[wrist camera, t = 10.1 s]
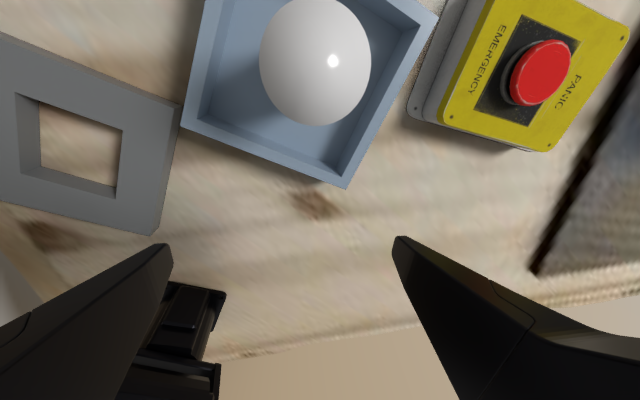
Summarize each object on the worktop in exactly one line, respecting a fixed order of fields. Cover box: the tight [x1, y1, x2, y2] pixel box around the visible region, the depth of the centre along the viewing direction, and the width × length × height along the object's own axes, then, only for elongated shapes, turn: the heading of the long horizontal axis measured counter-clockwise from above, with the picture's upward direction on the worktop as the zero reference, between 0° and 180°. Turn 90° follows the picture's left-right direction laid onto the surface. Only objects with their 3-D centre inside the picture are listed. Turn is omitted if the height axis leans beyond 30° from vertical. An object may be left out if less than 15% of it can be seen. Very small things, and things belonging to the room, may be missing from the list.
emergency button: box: [406, 0, 630, 152], centre depth 17 cm, size 9×4×15 cm
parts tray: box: [180, 0, 439, 190], centre depth 15 cm, size 12×12×3 cm
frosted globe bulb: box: [259, 0, 371, 126], centre depth 13 cm, size 4×4×8 cm
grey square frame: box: [0, 32, 183, 236], centre depth 16 cm, size 11×11×2 cm
